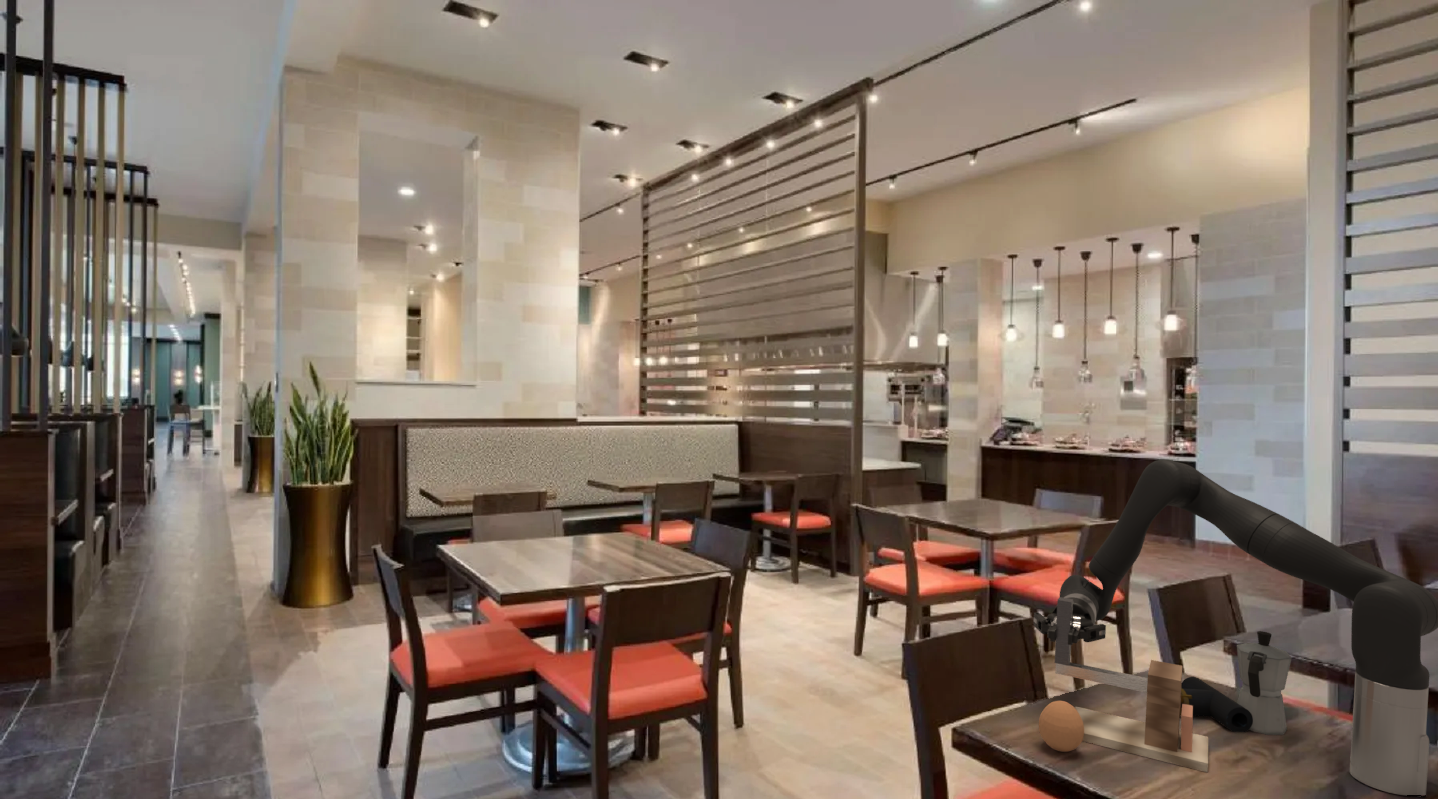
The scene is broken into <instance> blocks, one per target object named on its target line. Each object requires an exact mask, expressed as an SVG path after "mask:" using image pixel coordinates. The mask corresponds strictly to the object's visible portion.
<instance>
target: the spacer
mask: <svg viewBox="0 0 1438 799" xmlns="http://www.w3.org/2000/svg"><path fill="white" fill-rule="evenodd" d="M1193 720H1194V716H1193V706H1192V705H1186V704H1182V713H1181V716H1180V722H1181V723H1180V729H1181V750H1184V751H1189V752H1192V742H1193V732H1194V729H1193V728H1194V726H1193V725H1194V724H1193V723H1194V722H1193Z"/></svg>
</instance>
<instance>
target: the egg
mask: <svg viewBox="0 0 1438 799" xmlns="http://www.w3.org/2000/svg"><path fill="white" fill-rule="evenodd" d="M1038 731H1039V733H1040V736H1041V738H1042V740H1043V741H1044V742H1045V743H1046V745H1047V746H1049V747H1050V748H1051V749H1053V750H1055V751H1058V752H1064V753H1067V752H1071V751H1073V750H1075V749H1077V748H1078V747H1079V746H1080V745H1081V744H1082V742H1083V741H1082V740H1083V737H1084V725H1083V721H1082V719H1081V716H1080V714H1079V713H1078V711H1077V710H1076V709H1075V707H1074V706H1073V705H1072V704H1070V703H1069V702H1067V701H1065V700H1054V701H1052V702H1050V703H1049V704H1047V705H1046V706H1045V707H1044V708H1043V710H1042V712H1041V713H1040V715H1039V718H1038Z"/></svg>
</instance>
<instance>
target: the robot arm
mask: <svg viewBox="0 0 1438 799" xmlns="http://www.w3.org/2000/svg"><path fill="white" fill-rule="evenodd" d="M1167 506H1169V507H1170V506H1171V507H1176V508H1180V509H1182V510H1184V511H1187V512H1189V513H1191V514H1193V515H1196V516H1197V517H1199V518H1201V519H1203V520H1205V521H1206V522H1209V523H1210V524H1212V525H1213V526H1214V527H1216V528H1217V529H1218V530H1219V531H1220V532H1221V533H1223V535H1224V536H1225V537H1226V538H1228V540H1230V542H1232V543H1233V544H1234V545H1235V546H1237V547H1238V548H1239V549H1241V550H1242V551H1243V552H1244V553H1246V554H1248V555H1250V556H1252V557H1253V558H1254V559H1256V560H1258V561H1260V562H1262V563H1263V564H1265V565H1266V566H1268V567H1270V568H1272V569H1274V570H1276V571H1279V572H1281V573H1283V574H1286V575H1287V576H1291V577H1294V578H1297V579H1299V580H1302V581H1306V582H1308V583H1312V584H1315V585H1318V586H1320V587H1323V588H1326V589H1328V590H1331V591H1333V592H1336V593H1337V594H1339V595H1341V596H1343V597H1344V598H1346V599H1348V600H1350V601H1351V602H1352V608H1351V628H1350V629H1351V630H1350V631H1351V638H1350V639H1351V641H1350V642H1351V643H1350V646H1351V647H1350V648H1351V653H1352V657H1353V660H1354V662H1355V672H1354V673H1355V675H1354V690H1353V692H1354V693H1353V706H1352V708H1353V709H1352V710H1353V711H1352V727H1351V740H1350V741H1351V743H1350V758H1349V773H1350V775H1351V776H1352V777H1353V778H1354V779H1356V780H1357V781H1358V782H1360V783H1362V784H1364V785H1365V786H1369V787H1371V788H1374V789H1377V790H1380V791H1383V792H1386V793H1390V794H1395V795H1400V796H1407V795H1426V796H1427V785H1428V784H1427V782H1428V771H1429V770H1428V767H1429V766H1428V765H1429V752H1430V738H1429V736H1428V735H1427V719H1428V702H1429V686H1430V672H1429V669H1428V668H1427V667H1426V666H1425V665H1423V663H1422V661H1421V646H1422V645H1421V644H1422V643H1421V642H1422V641H1421V639H1422V637H1423V636H1427V635H1429V634H1431V633H1432V632H1434V631H1435V630H1437V629H1438V599H1437V598H1436V596H1434V595H1433V594H1432V592H1431V591H1429V590H1428V589H1427V588H1425V587H1424V586H1422V585H1421V584H1418V583H1416V582H1415V581H1412V580H1409V579H1408V578H1404V577H1403V576H1401V575H1398V574H1396V573H1393V572H1390V571H1388V570H1386V569H1383V568H1382V567H1378V566H1376V565H1374V564H1373V563H1370V562H1367V561H1365V560H1363V559H1361V558H1359V557H1357V556H1356V555H1353V554H1352V553H1349V552H1348V551H1346V550H1344V549H1343V548H1341V547H1339V546H1338V545H1336V544H1334V543H1332V542H1330V541H1329V540H1328V539H1325V538H1324V537H1322V536H1320V535H1318V534H1316V533H1314V532H1312V531H1310V530H1309V529H1307V528H1306V527H1304V526H1302V525H1300V524H1299V523H1296V522H1295V521H1293V520H1291V519H1289V518H1287V517H1285V516H1284V515H1282V514H1279V513H1277V512H1276V511H1273V510H1271V509H1269V508H1268V507H1265V506H1264V505H1261V504H1259V503H1257V502H1254V501H1252V500H1249V499H1247V498H1244V497H1242V496H1239V495H1238V494H1234V493H1233V492H1231V491H1230V490H1228V489H1226V488H1225V487H1223V486H1222V485H1220V484H1218V483H1217V482H1216V481H1214V480H1212V479H1211V478H1210V477H1208V476H1206V475H1205V474H1204V473H1202V472H1201V471H1199V470H1198V469H1196V468H1195V467H1193V466H1191V465H1189V464H1187V463H1183V462H1179V461H1176V460H1175V461H1174V460H1169V459H1158V460H1154V461H1152V462H1151V463H1149V464H1148V465H1146V467H1145V469H1144V470H1143V471H1142V473H1141V475H1140V477H1139V479H1138V481H1137V482H1136V485H1135V487H1134V488H1133V491H1132V493H1131V495H1130V497H1129V499H1128V501H1127V503H1126V505H1125V507H1124V509H1123V510H1122V512H1121V515H1120V517H1119V518H1118V520H1117V522H1116V524H1115V525H1114V527H1113V528H1112V530H1111V532H1110V533H1109V535H1108V536H1107V538H1106V539H1105V541H1103V543H1102V544H1101V546H1100V547H1099V549H1098V550H1097V551H1096V553H1095V554H1094V555H1093V557H1092V559H1091V560H1090V562H1089V564H1088V569H1089V571H1090V572H1091V573H1092V575H1094V577H1095V578H1096V579H1098V580H1099V582H1100V583H1101V586H1102V588H1101V587H1099V586H1098V585H1096V584H1095V583H1093V582H1091V581H1090V580H1089V579H1087V578H1086V577H1084V576H1082V575H1079V574H1073V575H1070V576H1069V577H1066V579H1065V580H1064V581H1063V583H1062V584H1061V587H1060V589H1059V597H1062V598H1068V599H1073V615H1072V628H1071V630H1070V631H1069V634H1068V645H1071V646H1073V644H1077V643H1078V642H1080V641H1081V640H1083V642H1084V643H1092V642H1096V641H1100V640H1103V639H1106V632H1107V627H1106V626H1107V625H1106V624H1103V623H1098V624H1096V622H1097V621H1101V620H1103V619H1105V618H1106V617H1107V615H1108V614H1109V612H1110V610H1111V607H1112V604H1113V601H1114V597H1115V594H1116V592H1117V590H1118V588H1119V587H1118V586H1119V585H1120V583H1121V582H1122V580H1123V578H1124V577H1125V576H1126V575H1127V573H1128V572H1129V570H1131V568H1132V567H1133V565H1134V564H1135V562H1136V561H1137V559H1138V557H1139V555H1140V553H1141V552H1142V548H1143V545H1144V542H1145V539H1146V535H1147V532H1148V530H1149V528H1150V526H1151V524H1152V522H1153V521H1154V520H1155V518H1156V517H1157V515H1159V514H1160V513H1161V511H1162V510H1163V509H1165V507H1167ZM1056 622H1057V605H1056V606H1055V607H1054V609H1053V610H1052V613H1049V614H1048V615H1047V616H1045V614H1044V615H1043V614H1041V613H1040V612H1033V626H1034V627H1035V629H1037V631H1039V633H1040V634H1042V635H1047V637H1046V638H1047V639H1050V640H1049V641H1050V642H1052V643H1056Z"/></svg>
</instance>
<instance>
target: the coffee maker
mask: <svg viewBox="0 0 1438 799" xmlns="http://www.w3.org/2000/svg"><path fill="white" fill-rule="evenodd" d="M1256 633H1257V642H1258V643H1257V642H1255V643H1254V642H1247V643H1246V642H1245V643H1241V644H1239V643H1238V644H1236V653H1237V661H1238V672H1239V674H1238V675H1239V679H1240V680H1241V681H1242V685H1241V687H1240V690H1239V695H1238V699H1237V702H1236V703H1238V704H1239V705H1241V706H1242V707H1244V708H1245V709H1247V710H1248V711H1249V712H1250V713H1251V714H1252V717H1253V724H1252V726H1251V728H1250V729H1249V730H1248V731H1251V732H1255V733H1259V734H1261V735H1271V736H1284V734H1286V732H1287V731H1288V730H1287V720H1286V711H1285V707H1284V706H1285V705H1284V699H1283V698H1284V697H1283V694H1282V691H1283V690H1285V688H1286V684H1287V681H1288V680H1287V679H1288V676H1289V670H1290V667H1291V666H1290V665H1291V663H1292V662H1291V661H1292V656H1291V655H1290V654H1289V653H1288V652H1287V651H1286V650H1282V649H1280V648H1277V647H1276V646H1275V647H1274V646H1272V645H1271V644H1270V642H1271V639H1272V632H1271V633H1270V632H1267V631H1264V630H1262V631H1261V630H1259V631H1256Z"/></svg>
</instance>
